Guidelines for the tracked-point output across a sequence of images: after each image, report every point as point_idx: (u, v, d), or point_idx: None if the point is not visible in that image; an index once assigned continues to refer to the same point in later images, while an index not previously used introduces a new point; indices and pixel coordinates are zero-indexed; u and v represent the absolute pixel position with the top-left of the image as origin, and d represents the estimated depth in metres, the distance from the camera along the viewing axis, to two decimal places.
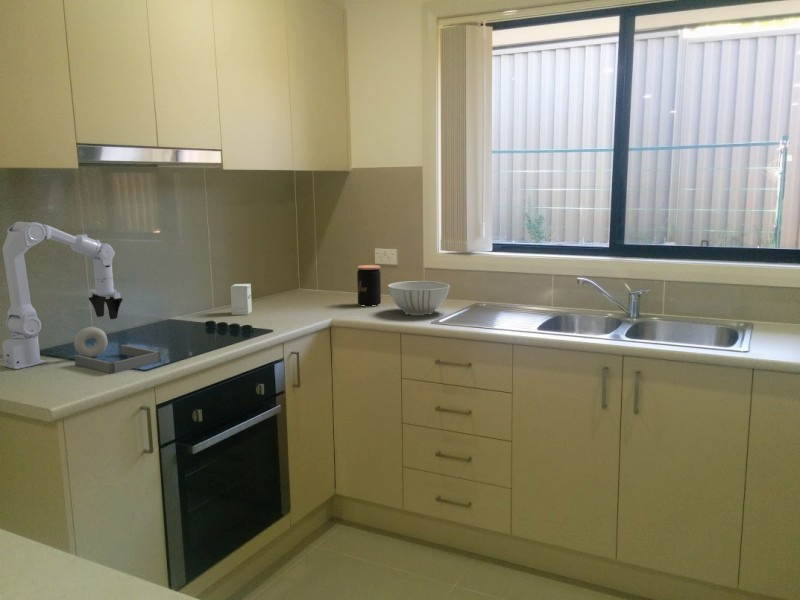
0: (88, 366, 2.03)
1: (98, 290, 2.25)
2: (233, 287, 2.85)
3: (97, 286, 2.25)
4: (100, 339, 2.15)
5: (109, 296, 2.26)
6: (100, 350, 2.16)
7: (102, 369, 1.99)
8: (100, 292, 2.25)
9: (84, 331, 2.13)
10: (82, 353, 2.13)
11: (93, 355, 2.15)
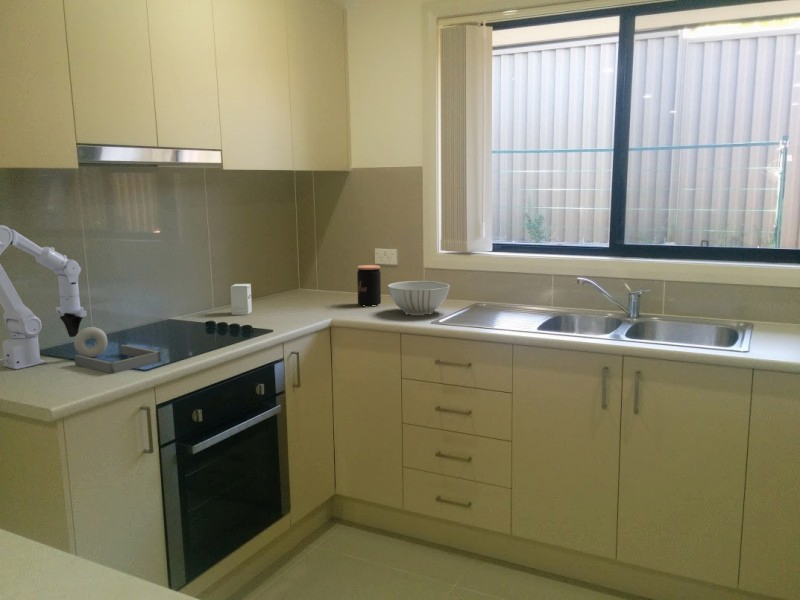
0: (88, 366, 2.03)
1: (63, 308, 2.16)
2: (233, 287, 2.85)
3: (62, 304, 2.16)
4: (100, 339, 2.15)
5: (75, 314, 2.17)
6: (100, 350, 2.16)
7: (102, 369, 1.99)
8: (65, 310, 2.16)
9: (84, 331, 2.13)
10: (82, 353, 2.13)
11: (93, 355, 2.15)
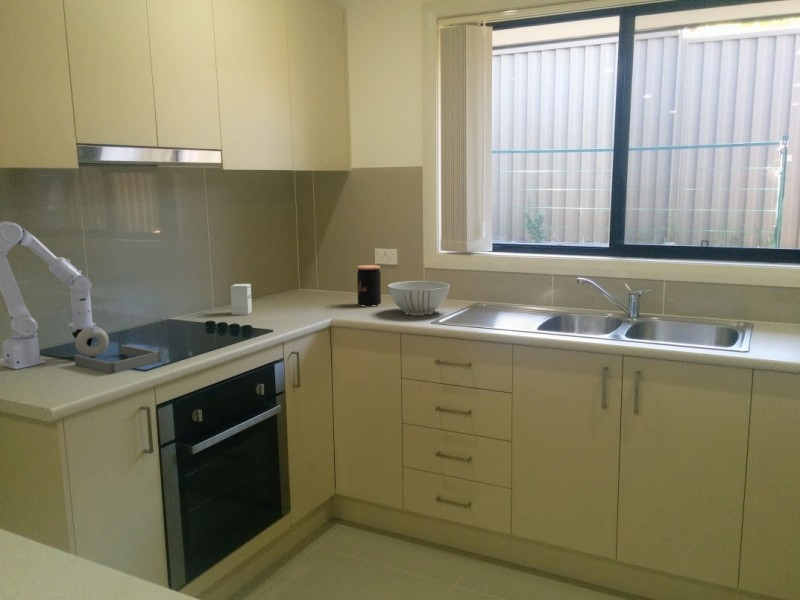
0: (88, 366, 2.03)
1: (76, 324, 2.14)
2: (233, 287, 2.85)
3: (75, 320, 2.13)
4: (101, 340, 2.14)
5: None
6: (101, 351, 2.15)
7: (102, 369, 1.99)
8: (78, 326, 2.13)
9: (86, 331, 2.11)
10: (82, 353, 2.13)
11: (93, 355, 2.15)
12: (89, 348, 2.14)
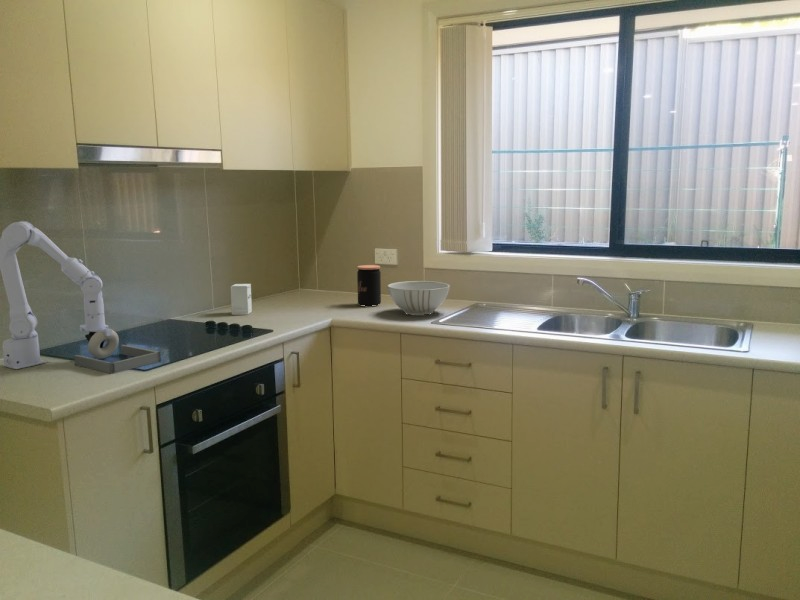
0: (88, 366, 2.03)
1: (88, 326, 2.10)
2: (233, 287, 2.85)
3: (87, 322, 2.10)
4: (113, 341, 2.13)
5: None
6: (112, 351, 2.14)
7: (102, 369, 1.99)
8: (90, 329, 2.10)
9: (101, 334, 2.08)
10: (96, 355, 2.10)
11: (105, 356, 2.13)
12: (102, 350, 2.11)
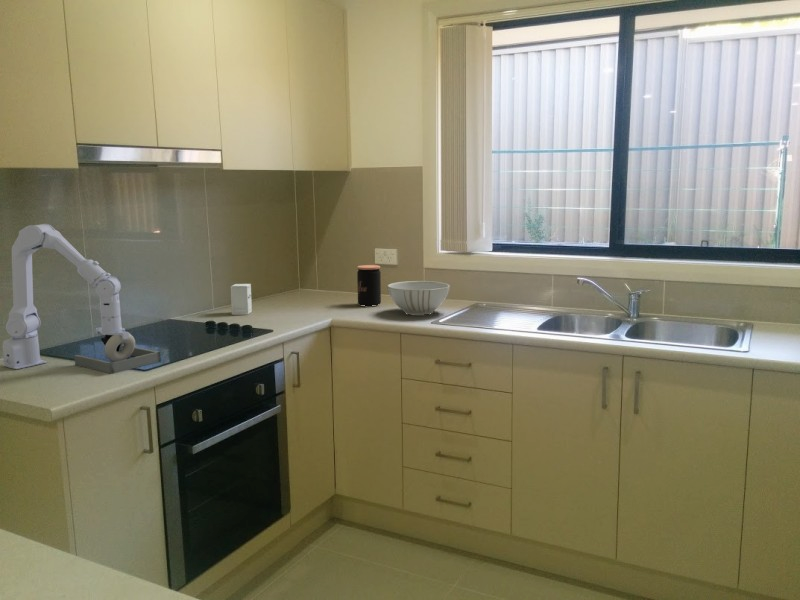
0: (88, 366, 2.03)
1: (105, 329, 2.05)
2: (233, 287, 2.85)
3: (103, 325, 2.05)
4: (130, 344, 2.08)
5: None
6: (128, 355, 2.09)
7: (102, 369, 1.99)
8: (107, 332, 2.05)
9: (118, 338, 2.04)
10: (112, 359, 2.05)
11: None
12: (118, 354, 2.06)
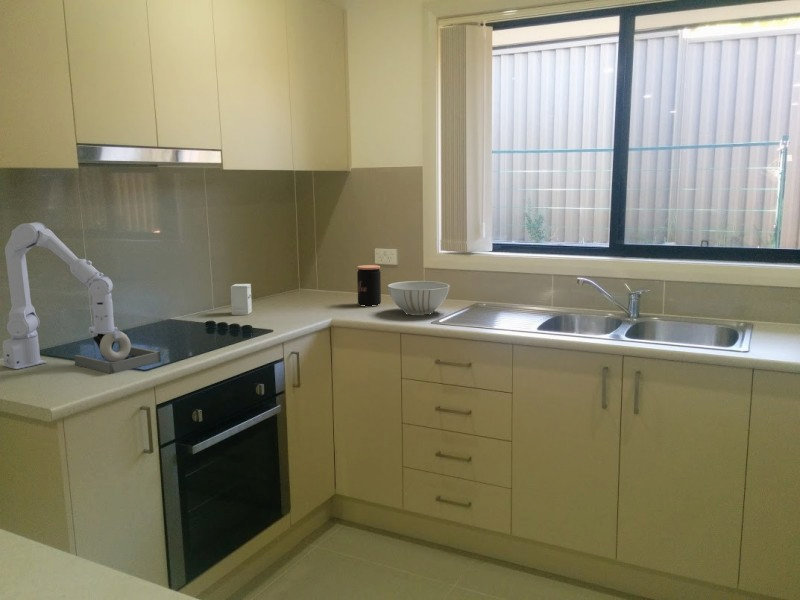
0: (88, 366, 2.03)
1: (97, 328, 2.07)
2: (233, 287, 2.85)
3: (96, 324, 2.07)
4: (124, 341, 2.09)
5: None
6: (126, 353, 2.09)
7: (102, 369, 1.99)
8: (99, 331, 2.07)
9: (110, 334, 2.06)
10: (111, 358, 2.05)
11: (121, 359, 2.08)
12: (115, 352, 2.07)
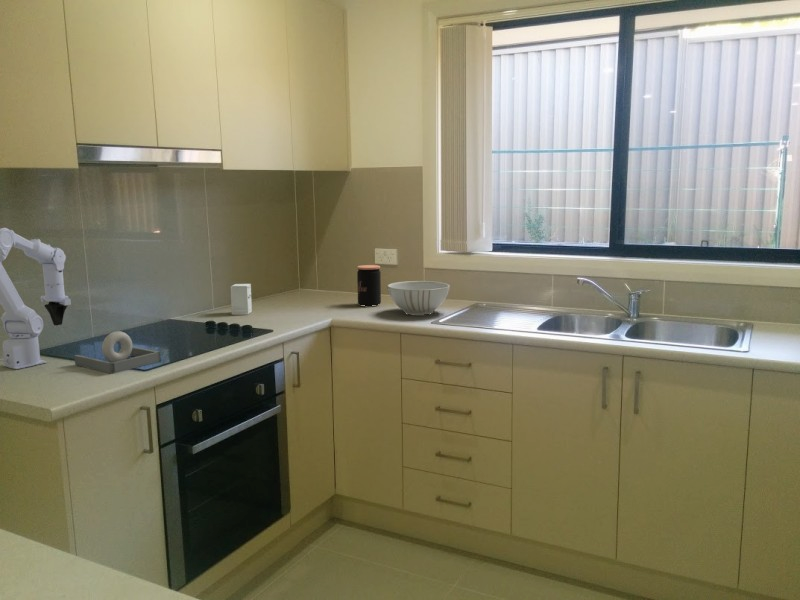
0: (88, 366, 2.03)
1: (48, 296, 2.17)
2: (233, 287, 2.85)
3: (47, 292, 2.17)
4: (127, 343, 2.09)
5: (59, 302, 2.18)
6: (127, 354, 2.09)
7: (102, 369, 1.99)
8: (50, 298, 2.17)
9: (113, 335, 2.05)
10: (112, 359, 2.05)
11: None
12: (116, 353, 2.07)
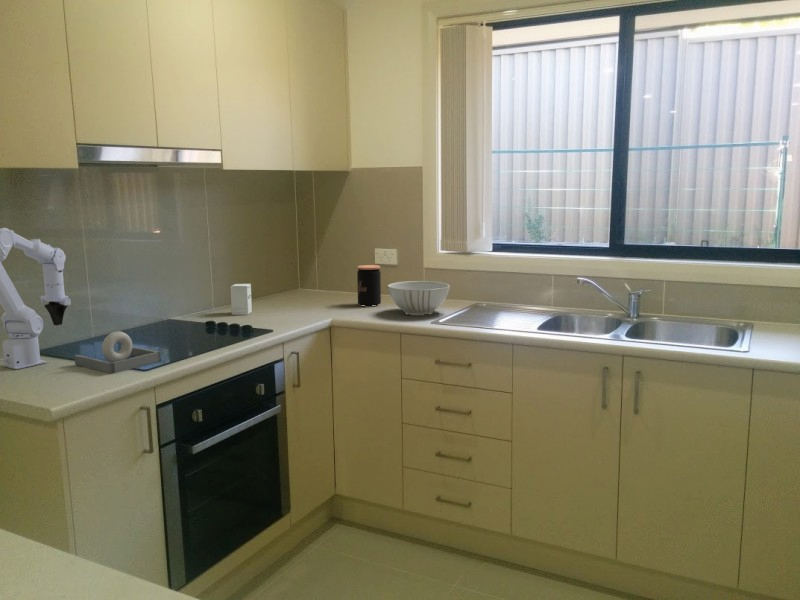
0: (88, 366, 2.03)
1: (48, 296, 2.17)
2: (233, 287, 2.85)
3: (47, 292, 2.17)
4: (127, 343, 2.09)
5: (59, 302, 2.18)
6: (127, 354, 2.09)
7: (102, 369, 1.99)
8: (50, 298, 2.17)
9: (113, 335, 2.05)
10: (112, 359, 2.05)
11: None
12: (116, 353, 2.07)
